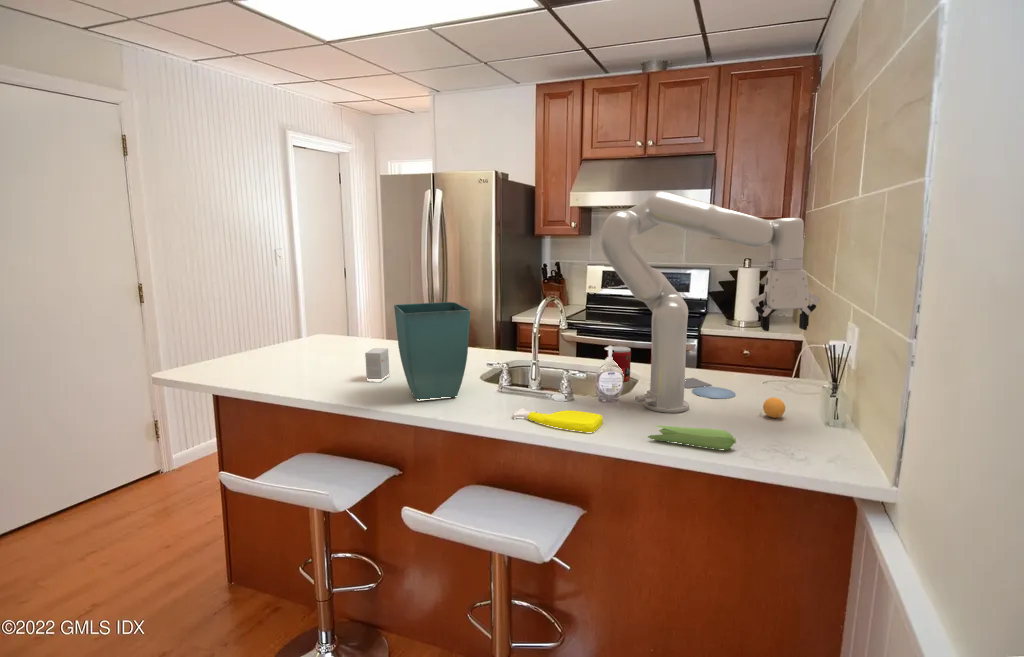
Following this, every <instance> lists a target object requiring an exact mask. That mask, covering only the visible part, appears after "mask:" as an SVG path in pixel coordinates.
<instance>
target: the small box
mask: <svg viewBox="0 0 1024 657" xmlns="http://www.w3.org/2000/svg"><path fill="white" fill-rule="evenodd" d="M364 355H365V356H364V358H365V372H366V373H365V374H366V379H367V378H368V379H382V378H384V377H385V376H387V375H388V374H389V375H390V359H389V358H390V357H389V348H383V347H382V348H381V347H379V348H378V347H373V348H372V349H370V350H368V351H366V352H365V353H364Z"/></svg>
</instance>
